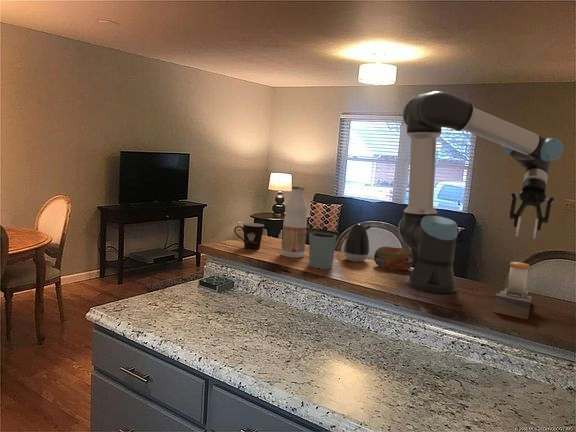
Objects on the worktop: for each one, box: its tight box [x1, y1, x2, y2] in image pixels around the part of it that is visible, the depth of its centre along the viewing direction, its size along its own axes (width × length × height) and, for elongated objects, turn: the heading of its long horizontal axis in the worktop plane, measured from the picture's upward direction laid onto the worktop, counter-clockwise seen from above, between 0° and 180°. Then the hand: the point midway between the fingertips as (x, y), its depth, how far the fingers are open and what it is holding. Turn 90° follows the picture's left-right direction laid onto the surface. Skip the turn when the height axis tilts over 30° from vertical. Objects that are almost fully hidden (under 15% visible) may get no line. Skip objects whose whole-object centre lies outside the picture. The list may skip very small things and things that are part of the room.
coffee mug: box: [233, 222, 265, 251], centre depth 201 cm, size 12×9×10 cm
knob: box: [506, 261, 531, 298], centre depth 149 cm, size 5×5×10 cm
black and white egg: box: [343, 222, 371, 263], centre depth 192 cm, size 10×10×15 cm
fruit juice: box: [280, 185, 309, 259], centre depth 191 cm, size 9×9×28 cm
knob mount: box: [493, 287, 532, 320], centre depth 145 cm, size 20×9×5 cm, turn 151°
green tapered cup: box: [308, 232, 337, 270], centre depth 177 cm, size 10×10×12 cm
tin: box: [373, 245, 415, 271], centre depth 185 cm, size 15×3×8 cm, turn 81°
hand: (525, 235), depth 159 cm, fingers open, 4 cm apart
